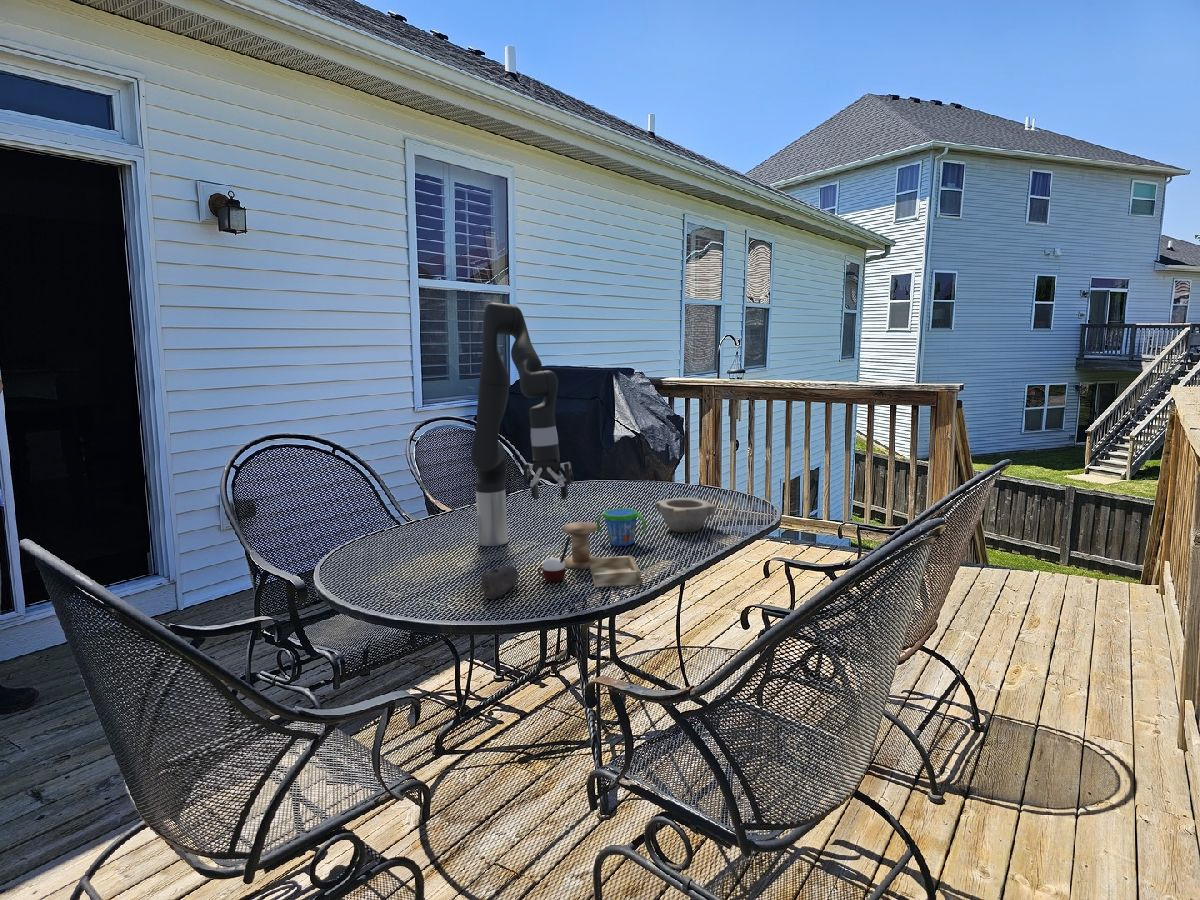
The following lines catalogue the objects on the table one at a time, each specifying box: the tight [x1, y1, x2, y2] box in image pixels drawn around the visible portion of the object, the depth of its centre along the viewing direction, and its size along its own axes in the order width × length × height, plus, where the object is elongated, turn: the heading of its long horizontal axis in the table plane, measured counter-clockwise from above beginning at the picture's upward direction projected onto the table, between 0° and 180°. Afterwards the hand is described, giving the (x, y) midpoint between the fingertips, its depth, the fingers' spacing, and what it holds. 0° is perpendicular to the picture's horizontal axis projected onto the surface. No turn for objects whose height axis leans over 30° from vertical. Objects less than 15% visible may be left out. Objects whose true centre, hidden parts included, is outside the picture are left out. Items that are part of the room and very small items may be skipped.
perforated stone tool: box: [480, 565, 519, 600], centre depth 187 cm, size 15×5×7 cm, turn 153°
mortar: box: [654, 496, 718, 533], centre depth 242 cm, size 17×17×9 cm
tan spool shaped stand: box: [561, 521, 598, 570], centre depth 209 cm, size 10×10×11 cm
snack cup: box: [596, 507, 647, 547], centre depth 228 cm, size 16×10×10 cm
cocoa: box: [537, 536, 572, 584], centre depth 195 cm, size 10×6×12 cm, turn 51°
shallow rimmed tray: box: [589, 555, 642, 588], centre depth 197 cm, size 12×15×3 cm
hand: (550, 499), depth 208 cm, fingers open, 8 cm apart
